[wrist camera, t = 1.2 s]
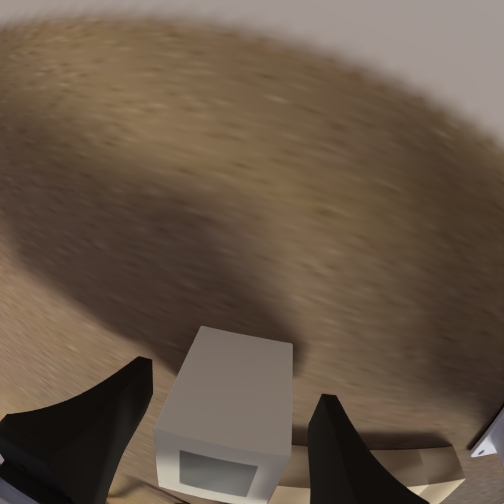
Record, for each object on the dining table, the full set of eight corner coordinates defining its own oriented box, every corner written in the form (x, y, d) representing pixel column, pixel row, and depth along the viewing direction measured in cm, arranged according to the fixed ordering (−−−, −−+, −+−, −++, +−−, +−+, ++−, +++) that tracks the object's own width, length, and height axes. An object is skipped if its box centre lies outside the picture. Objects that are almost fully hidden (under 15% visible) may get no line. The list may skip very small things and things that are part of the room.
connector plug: (292, 343, 13) (290, 456, 8) (273, 405, 15) (264, 508, 9) (201, 325, 14) (153, 427, 8) (195, 390, 15) (159, 486, 9)
